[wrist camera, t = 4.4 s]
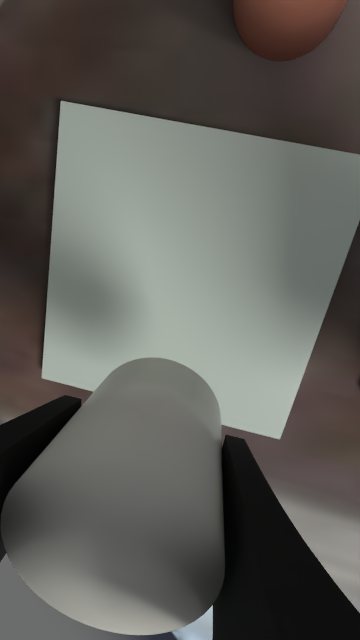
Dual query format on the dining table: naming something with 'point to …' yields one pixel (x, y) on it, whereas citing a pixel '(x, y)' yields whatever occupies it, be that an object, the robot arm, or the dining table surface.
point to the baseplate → (194, 255)
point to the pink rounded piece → (285, 25)
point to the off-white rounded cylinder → (126, 504)
